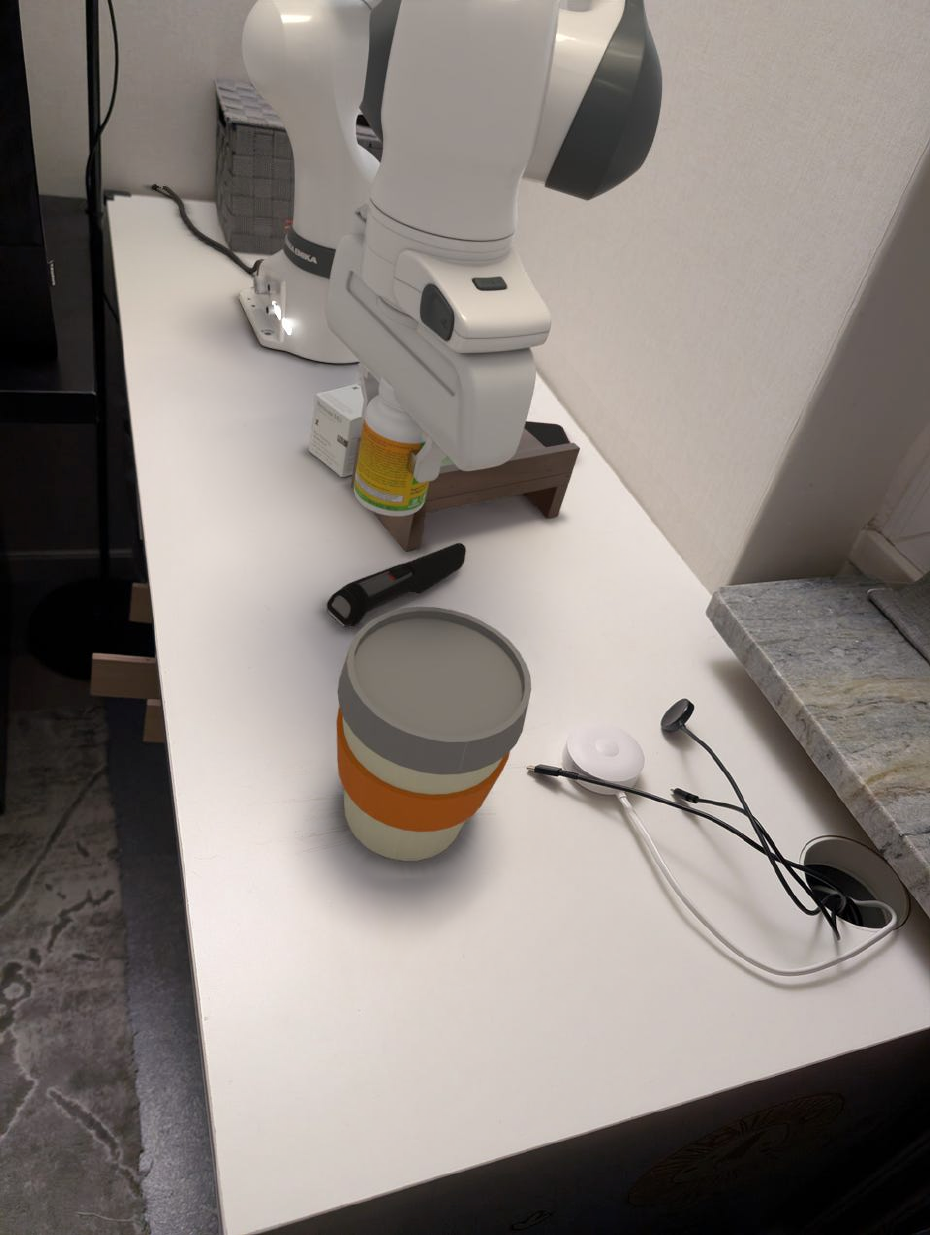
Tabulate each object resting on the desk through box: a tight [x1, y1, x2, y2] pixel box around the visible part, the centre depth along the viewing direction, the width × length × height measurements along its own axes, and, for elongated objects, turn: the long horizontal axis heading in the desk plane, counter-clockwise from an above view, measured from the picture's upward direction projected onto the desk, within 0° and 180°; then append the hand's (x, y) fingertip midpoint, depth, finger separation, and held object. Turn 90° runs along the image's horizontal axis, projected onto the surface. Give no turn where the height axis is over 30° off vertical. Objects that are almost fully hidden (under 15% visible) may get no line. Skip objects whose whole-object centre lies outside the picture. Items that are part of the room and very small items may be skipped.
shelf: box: [350, 428, 581, 553], centre depth 96 cm, size 12×20×9 cm, turn 123°
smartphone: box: [524, 420, 571, 447], centre depth 111 cm, size 7×1×15 cm
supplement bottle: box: [353, 377, 429, 516], centre depth 64 cm, size 5×5×10 cm
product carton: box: [308, 383, 364, 478], centre depth 98 cm, size 6×6×7 cm
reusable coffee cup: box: [336, 606, 532, 862], centre depth 62 cm, size 13×13×15 cm
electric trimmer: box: [326, 542, 467, 627], centre depth 85 cm, size 4×16×3 cm, turn 134°
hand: (398, 449), depth 64 cm, fingers closed on supplement bottle, 5 cm apart
